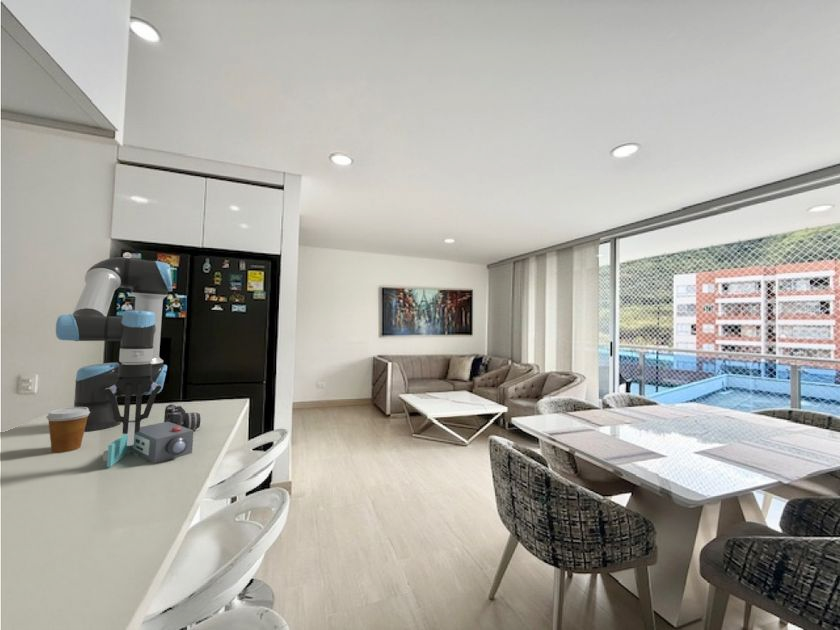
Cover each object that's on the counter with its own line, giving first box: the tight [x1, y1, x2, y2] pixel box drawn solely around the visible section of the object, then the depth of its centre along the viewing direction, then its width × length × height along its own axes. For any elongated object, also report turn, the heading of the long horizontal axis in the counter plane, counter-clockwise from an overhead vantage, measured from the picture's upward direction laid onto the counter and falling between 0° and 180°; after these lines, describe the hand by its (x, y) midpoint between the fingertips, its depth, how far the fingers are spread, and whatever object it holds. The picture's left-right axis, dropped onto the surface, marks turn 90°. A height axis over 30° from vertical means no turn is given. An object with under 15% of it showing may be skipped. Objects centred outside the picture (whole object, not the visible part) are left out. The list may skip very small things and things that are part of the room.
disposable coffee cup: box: [46, 406, 90, 453], centre depth 105 cm, size 10×10×12 cm
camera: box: [163, 403, 202, 431], centre depth 124 cm, size 14×11×10 cm
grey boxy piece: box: [130, 421, 194, 464], centre depth 105 cm, size 18×10×8 cm, turn 61°
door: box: [102, 434, 131, 468], centre depth 99 cm, size 12×2×6 cm, turn 21°
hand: (130, 444), depth 98 cm, fingers closed
